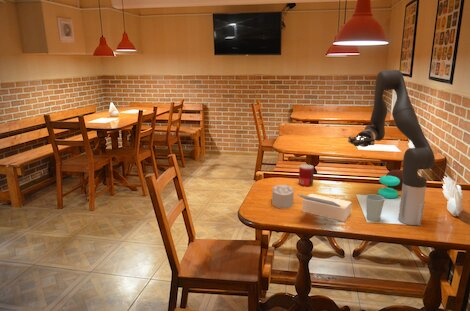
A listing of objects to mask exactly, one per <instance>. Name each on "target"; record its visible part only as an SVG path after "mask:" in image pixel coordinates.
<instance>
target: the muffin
mask: <svg viewBox="0 0 470 311" xmlns="http://www.w3.org/2000/svg"><path fill="white" fill-rule="evenodd" d="M402 172H403V170H401V169H392V170H389V171H388V172H387V173H386V174H385V176H394V177H397V178H399V180H400V183H399V184H398V185H396V186H387V185H386V186H387V187H386V188H392V189H395V190H396V191H402V185H403V176H402Z"/></svg>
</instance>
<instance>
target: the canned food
mask: <svg viewBox="0 0 470 311" xmlns="http://www.w3.org/2000/svg"><path fill="white" fill-rule="evenodd" d="M314 168H315V167H314V165H311V164H300V165H299V170H298V171H299V172H298V184H299V186H301V187H304V186H305V187H306V188H307V187H308V188H309V187H312V186H313V183H314V170H315V169H314Z"/></svg>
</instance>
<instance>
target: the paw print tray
mask: <svg viewBox="0 0 470 311" xmlns="http://www.w3.org/2000/svg"><path fill="white" fill-rule="evenodd" d="M294 192H295V190H294V188H293V186H291V185H290V186H289V185H288V184H277V185H274V186H272V193H271V194H272V197H271V205H272V206H274V207H275V208H278V209H283V210H284V209H289V208H292V207H293V206H294V194H295V193H294Z"/></svg>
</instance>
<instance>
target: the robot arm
mask: <svg viewBox="0 0 470 311" xmlns="http://www.w3.org/2000/svg"><path fill="white" fill-rule="evenodd" d="M391 90H392V91H393V90H394V92H395V94H396V100H395V103H394V105H393V109H392V112H391V113H392V114H391V115H392V117H393V121H394V123H395V127H396V128H397V129H398V130H399V132H400V133H401V134H402V135H403V136H405V137H406V138H407V139H408V140H409V141H410V142H411V144H412V145H413V146H414V147H412V148H411V147H410V148H407V149H406V150H405V151H404V153H403V157H402V158H403V159H402V171H403V172H402V176H403V185H402V190H401V194H400V202H399V210H398V218H397V220H399V222H401V223H403V224H406V225H410V226H421V223H422V221H423V214H424V208H425V197H426V190H427V184H428V181H427V180H428V179H427V178H425V177H423V176H421V175H419V174H418V173H419V172H418V171H419V170H429V169H432V168H433V167H434V166H435V163H436V158H435V154H434V151H433V149H432V147H431V146H430V143H429V142H428V140H427V137H426V136H425V134H424V131H423V129H422V126H421V124H420V123H419V119H418V117H417V113H416V112H415V108H414V105H413V104H412V102H411V99H410V96H409V94H408V90H407V86H406V82H405V79H404V75H403V73H402V72H401V71H400V70H399V69H389V70H381V71H380V72H378V74H377V75H376V79H375V89H374V98H373V99H374V100H373V108H372V110H371V111H372V112H371V116H370V120H369V121H370V124H367V125H366V126H365V127H364V129H363V130H362V131H360V132H358V134H356V136H354V137H352V136H348V140H347V142H348V143H349V144H352V145H353V146H354V147H359V146H360V147H362V148H364V147H365V148H366V147H368V146H375V143H376V141H377V142H381V141H382V140H384V137H385V134H386V128H385V122H386V118H387V116H388V107H387V104H386V102H385V100H384V92H385V91H391Z"/></svg>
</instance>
